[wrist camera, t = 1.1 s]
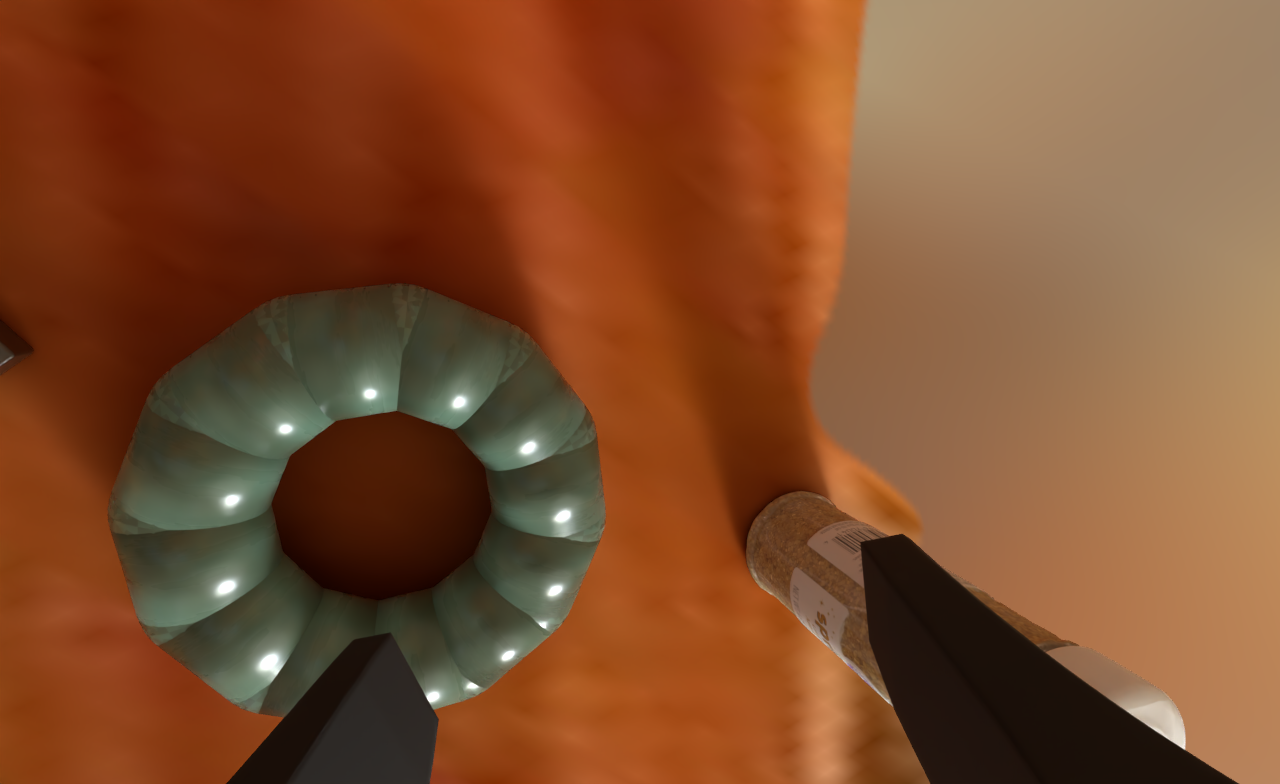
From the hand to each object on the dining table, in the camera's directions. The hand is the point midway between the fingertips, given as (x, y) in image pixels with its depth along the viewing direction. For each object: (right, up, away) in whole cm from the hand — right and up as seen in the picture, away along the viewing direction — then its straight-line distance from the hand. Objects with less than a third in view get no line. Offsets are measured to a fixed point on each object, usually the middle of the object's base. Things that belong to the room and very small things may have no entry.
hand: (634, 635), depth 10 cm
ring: (-7, 0, +10) cm, 12 cm away
